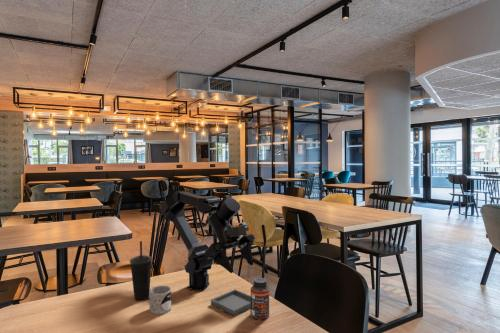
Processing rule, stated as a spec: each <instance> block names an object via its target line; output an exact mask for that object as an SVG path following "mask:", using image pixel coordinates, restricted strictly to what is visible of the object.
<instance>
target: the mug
mask: <svg viewBox="0 0 500 333" xmlns="http://www.w3.org/2000/svg"><path fill="white" fill-rule="evenodd" d="M171 310H172V287H171V285H157V286H154V287H151V288H150V290H149V312H150V314H151V315H153V316H162V315H165V314H168V313H169V312H170V311H171Z"/></svg>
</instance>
